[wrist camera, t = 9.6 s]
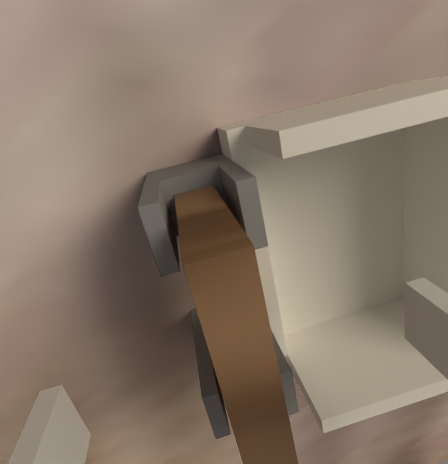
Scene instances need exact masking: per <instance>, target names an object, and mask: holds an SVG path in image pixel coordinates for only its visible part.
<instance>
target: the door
mask: <svg viewBox="0 0 448 464" xmlns="http://www.w3.org/2000/svg"><path fill="white" fill-rule="evenodd" d="M174 198H175V206H176V214H177V222H178V230H179V238H180V246H181V254H182V262H183V267H184V270H185V274H186V277H187V280H188V284H189V287H190V290H191V293H192V297H193V300H194V303H195V307H196V310H197V313H198V317H199V320H200V323H201V326H202V330H203V333H204V336H205V340H206V343H207V346H208V349H209V353H210V356H211V359H212V363H213V366H214V369H215V372H216V376H217V379H218V382H219V386H220V389H221V392H222V395H223V399H224V402H225V405H226V409H227V412H228V415H229V418H230V422H231V425H232V428H233V432H234V435H235V438H236V442H237V445H238V448H239V451H240V455H241V458H242V461H243V464H298V461H297V456H296V451H295V446H294V441H293V436H292V431H291V426H290V421H289V416H288V411H287V406H286V402H285V397H284V392H283V387H282V382H281V377H280V372H279V367H278V362H277V357H276V352H275V347H274V342H273V337H272V332H271V327H270V323H269V318H268V313H267V308H266V303H265V298H264V293H263V288H262V283H261V278H260V273H259V268H258V263H257V258H256V253H255V248H254V245H253V243H252V242H251V241H250V239H249V238H248V236H247V235H246V233H245V232H244V230H243V229H242V227H241V226H240V224H239V223H238V221H237V220H236V218H235V217H234V215H233V214H232V213H231V211H230V210H229V208H228V207H227V205H226V204H225V202H224V201H223V199H222V198H221V196H220V195H219V193H218V192H217V190H216V189H215V188H214V186H213V185H211V186H207V187H203V188H199V189H195V190H192V191H188V192H184V193H180V194H176V195H174Z"/></svg>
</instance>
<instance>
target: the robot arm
mask: <svg viewBox="0 0 448 464" xmlns="http://www.w3.org/2000/svg"><path fill="white" fill-rule="evenodd" d="M405 339H406V340H407V341H408V342H409V343H410V344H411V345H412V346H413V347H414V348H415V349H417V350H418V351H419V352H420V353H421V354H422V355H423V356H424V357H425V358H426V359H427V360H428V361H429V362H430V363H431V364H432V365H433V366H434V367H435V368H436V369H437V370H438V371H439V372H440V373H441V374H442V375H443V376H444V377H445V378H446V379H447V380H448V293H446V292H445V291H443V290H442V289H440V288H439V287H437V286H436V285H434V284H433V283H431V282H430V281H428V280H427V279H425V278H424V277H423V278H420V279H416V280H413V281H410V282H406V283H405ZM90 438H91V434H90V433H89V431H88V429H87V427H86V426H85V424H84V422H83V421H82V419H81V417H80V415H79V414H78V412H77V410H76V408H75V407H74V405H73V403H72V402H71V400H70V398H69V396H68V395H67V393H66V391H65V389H64V388H63V386H62V385H59V386H55V387H52V388H48V389H45V390H42V391H40V392H39V394H38V396H37V399H36V401H35V403H34V405H33V408H32V410H31V412H30V415H29V417H28V419H27V421H26V424H25V426H24V428H23V431H22V433H21V435H20V438H19V440H18V442H17V444H16V447H15V449H14V451H13V454H12V456H11V458H10V460H9V463H8V464H85V460H86V456H87V451H88V447H89V442H90Z"/></svg>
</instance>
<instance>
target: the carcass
mask: <svg viewBox="0 0 448 464" xmlns="http://www.w3.org/2000/svg"><path fill="white" fill-rule="evenodd" d="M217 131H218V135H219V140H220V144H221V149H222V154H219V155H215V156H211V157H207V158H204V159H200V160H196V161H192V162H188V163H184V164H180V165H176V166H172V167H168V168H164V169H160V170H156V171H152V172H148V173H147V175H146V178H145V182H144V186H143V189H142V193H141V196H140V200H139V203H138V207H137V208H138V211H139V214H140V217H141V220H142V223H143V226H144V229H145V232H146V235H147V237H148V240H149V243H150V246H151V249H152V252H153V255H154V258H155V261H156V264H157V267H158V270H159V273H160V276H164V275H167V274H171V273H174V272H178V271H180V267H179V257H178V247H177V238H176V236H179V230H178V222H177V214H176V206H175V198H174V195H176V194H180V193H184V192H188V191H192V190H195V189H199V188H203V187H207V186H211V185H213V186H214V188H215V189H216V190H217V192H218V193H219V195H220V196H221V198H222V199H223V201H224V202H225V204H226V205H227V207H228V208H229V210H230V211H231V213H232V214H233V215H234V217H235V218H236V220H237V221H238V223H239V224H240V226H241V227H242V229H243V230H244V232H245V233H246V235H247V236H248V238H249V239H250V241H251V242H252V243H253V245H254V248H255V253H256V258H257V263H258V268H259V273H260V278H261V283H262V288H263V293H264V298H265V303H266V308H267V313H268V318H269V323H270V327H271V332H272V337H273V342H274V347H275V352H276V357H277V362H278V367H279V372H280V377H281V382H282V387H283V392H284V397H285V402H286V406H287V411H288V415H291V414H294V413H297V412H299V410H298V404H297V399H296V393H295V388H294V383H293V377H292V372H291V369H292V371H293V373H294V375H295V377H296V379H297V381H298V383H299V385H300V387H301V389H302V391H303V393H304V395H305V397H306V399H307V401H308V403H309V405H310V407H311V409H312V411H313V413H314V415H315V417H316V419H317V421H318V423H319V425H320V427H321V429H322V431H323V433H326V432H329V431H332V430H335V429H338V428H341V427H344V426H347V425H350V424H353V423H355V422H358V421H361V420H364V419H367V418H370V417H373V416H376V415H379V414H382V413H385V412H388V411H391V410H394V409H397V408H400V407H403V406H406V405H409V404H412V403H415V402H418V401H421V400H424V399H427V398H430V397H433V396H436V395H439V394H442V393H445V392H448V380H447V379H446V378H445V377H444V376H443V375H442V374H441V373H440V372H439V371H438V370H437V369H436V368H435V367H434V366H433V365H432V364H431V363H430V362H429V361H428V360H427V359H426V358H425V357H424V356H423V355H422V354H421V353H420V352H419V351H418V350H417V349H415V348H414V347H413V346H412V345H411V344H410V343H409V342H408V341H407V340H406V339H405V283H406V282H410V281H413V280H416V279H420V278H423V277H424V278H425V279H427V280H428V281H430V282H431V283H433V284H434V285H436V286H437V287H439V288H440V289H442V290H443V291H445V292H446V293H448V76H446V77H438V78H430V79H423V80H415V81H407V82H402V83H398V84H394V85H390V86H386V87H382V88H378V89H374V90H370V91H366V92H362V93H358V94H354V95H350V96H345V97H341V98H337V99H333V100H329V101H325V102H321V103H317V104H313V105H309V106H305V107H301V108H297V109H292V110H288V111H284V112H280V113H276V114H272V115H268V116H264V117H260V118H256V119H252V120H248V121H244V122H240V123H235V124H231V125H227V126H223V127H219V128H217ZM190 312H191V319H192V326H193V334H194V341H195V349H196V356H197V364H198V371H199V379H200V386H201V394H202V399H203V402H204V405H205V408H206V411H207V414H208V417H209V420H210V423H211V426H212V429H213V432H214V435H215V438H216V439H218V438H221V437H224V436H227V435H230V429H229V424H228V419H227V414H226V409H225V405H224V400H223V395H222V392H221V389H220V386H219V382H218V379H217V376H216V372H215V369H214V366H213V363H212V359H211V356H210V353H209V349H208V346H207V343H206V340H205V336H204V333H203V330H202V326H201V323H200V320H199V317H198V313H197V310H196V309H195V310H192V311H190ZM289 366H290V367H291V369H290V367H289Z"/></svg>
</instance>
